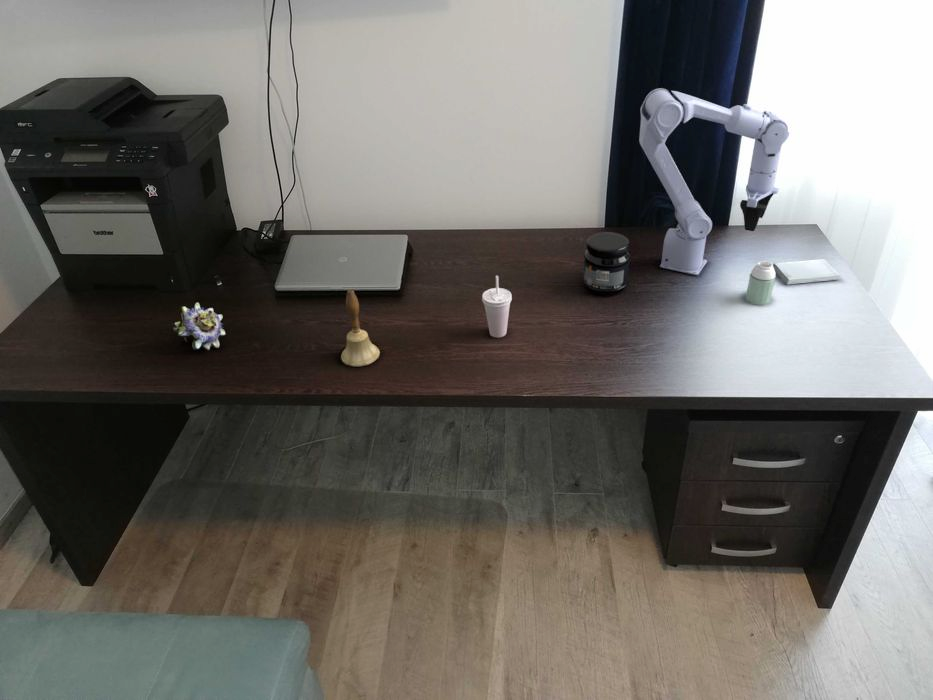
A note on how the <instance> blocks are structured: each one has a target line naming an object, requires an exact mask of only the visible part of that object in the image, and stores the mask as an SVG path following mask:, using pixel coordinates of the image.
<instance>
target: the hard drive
mask: <svg viewBox="0 0 933 700" xmlns="http://www.w3.org/2000/svg"><path fill="white" fill-rule="evenodd" d="M772 265H773V268H774V270H775V273H776V275H777V276H778V277H779V278H780V279H781V281H783V282H784V284H786V285H797V284H808V283H819V282H828V281H839V280H840V277H841V274H840V273H839V272H838V271H837V270H836V269H835V268H834V267H833V266H831V265H830V264H829V262H827V260H825V259H824V258H819V259H809V260H797V261H785V262H774V263H772Z"/></svg>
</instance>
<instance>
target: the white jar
mask: <svg viewBox="0 0 933 700" xmlns="http://www.w3.org/2000/svg"><path fill="white" fill-rule="evenodd" d="M750 274H752V276H753V277H755V278H757V279H760V280H770V279H773V278H774V277H775V278H776V275H777V273H776V272H775V270H774V268H773V263H772V262H770V261H768V260H767V261H766V260H761V261H760V260H759V261H758V263H757V264H756V265H755V266H754V267H753V268H752V269H751V271H750Z"/></svg>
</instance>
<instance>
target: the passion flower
mask: <svg viewBox="0 0 933 700" xmlns="http://www.w3.org/2000/svg"><path fill="white" fill-rule="evenodd" d="M180 309H181V311H182V312H181V321H177V322H174V323H173V326H174V327H172V329H171V330H172V331H173V332H175V333H177V336H178V337H182V338H183V339H184V341H185V342H186V343H188V339H189V338H190V336H192V337H193V341H192V343H191V344H192V345H191V346H192V349H193V350H194V351H197V350H199V349H200V348H201V347H202V349H204V350H206V351H210V349H211V347H212V348H214V349H219V348H220V341H219V337H220V336H222V337H223V336H226V331H225V329H223V328H224V326H222V325H224V323H222V322H221V321H222V320H223V319H224V318H223V317H224V316H223V314H217V313H216V312H214V308H213V307H209V308H207V307H205V309H204V306H202V307H201V305H200V303H199V302H195V304H194V306H193V307H191V308H188V307H186V306H181V307H180ZM181 322H182V323H181ZM180 325H181V326H180Z"/></svg>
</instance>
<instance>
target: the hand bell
mask: <svg viewBox="0 0 933 700" xmlns="http://www.w3.org/2000/svg"><path fill="white" fill-rule="evenodd" d="M345 308H346V311H347V313H348V316H349V318H350V324H351V330H350V331H349V332H348V333H347V334H346V346H345V348H344V349H343V351H342V352H341V355H340V359H341V361H342V363H343V364H344V365H346V366H349V367H354V368H355V367H364V366H368V365H371V364H373V363H374V362H376V360H378V359H379V358H380V354H381V351H380V349H379V348H378V347H377V345H376V344H373V343H372V342H371V340H370V337H369V334H368V332H367V331H366V330H365V329H361V325H360V320H359V312H360V303H359V300H358V297H357V295H356V293H355V291H354V289H347V290H346V298H345Z"/></svg>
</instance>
